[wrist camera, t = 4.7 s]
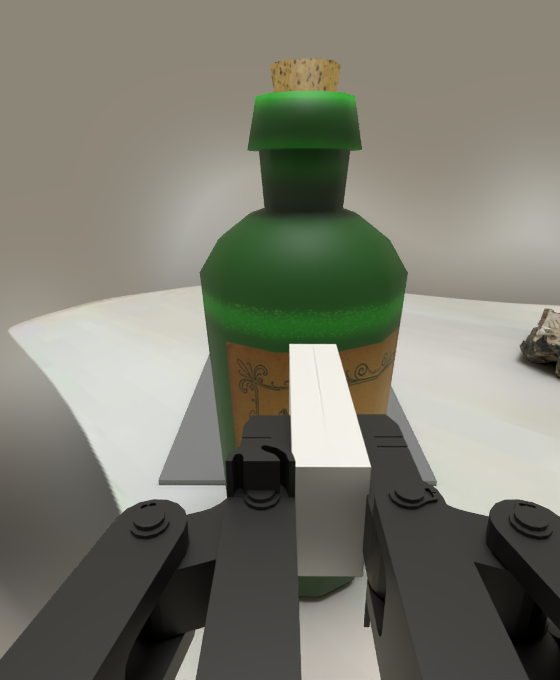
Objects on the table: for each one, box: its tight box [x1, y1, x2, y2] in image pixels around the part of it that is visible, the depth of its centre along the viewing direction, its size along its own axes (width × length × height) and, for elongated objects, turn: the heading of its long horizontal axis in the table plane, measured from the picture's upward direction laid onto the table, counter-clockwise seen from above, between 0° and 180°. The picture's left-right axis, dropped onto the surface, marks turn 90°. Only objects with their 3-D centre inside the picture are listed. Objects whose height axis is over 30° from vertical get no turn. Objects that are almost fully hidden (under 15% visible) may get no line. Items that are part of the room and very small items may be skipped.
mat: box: [159, 354, 437, 485], centre depth 54 cm, size 36×22×1 cm, turn 179°
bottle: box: [200, 59, 408, 597], centre depth 26 cm, size 11×11×28 cm
